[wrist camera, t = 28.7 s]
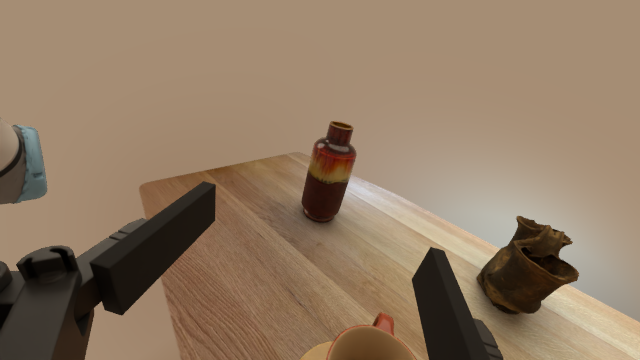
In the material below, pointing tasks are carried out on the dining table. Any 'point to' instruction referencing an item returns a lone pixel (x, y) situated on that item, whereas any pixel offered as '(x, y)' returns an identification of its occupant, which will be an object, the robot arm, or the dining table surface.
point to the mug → (370, 342)
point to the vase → (329, 173)
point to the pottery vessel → (527, 268)
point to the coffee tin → (318, 352)
